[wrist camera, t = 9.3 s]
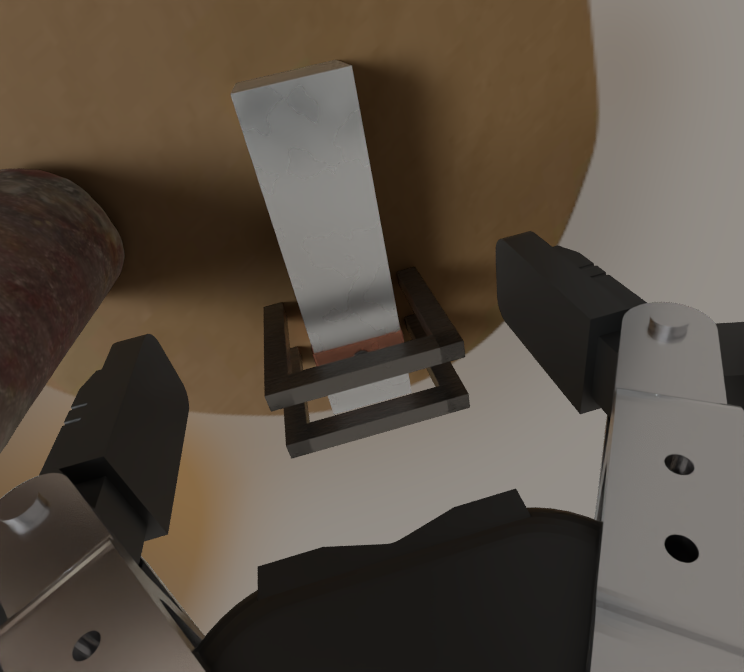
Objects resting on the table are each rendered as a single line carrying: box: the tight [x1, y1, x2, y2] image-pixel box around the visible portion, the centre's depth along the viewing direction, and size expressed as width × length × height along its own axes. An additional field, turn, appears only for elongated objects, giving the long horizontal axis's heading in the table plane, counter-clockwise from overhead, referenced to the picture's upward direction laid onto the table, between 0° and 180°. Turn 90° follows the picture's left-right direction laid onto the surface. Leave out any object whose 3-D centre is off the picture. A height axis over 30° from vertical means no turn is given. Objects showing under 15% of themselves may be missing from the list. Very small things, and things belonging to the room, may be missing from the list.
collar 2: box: [284, 315, 470, 458], centre depth 28 cm, size 1×10×9 cm, turn 101°
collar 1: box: [264, 267, 465, 411], centre depth 26 cm, size 1×10×9 cm, turn 101°
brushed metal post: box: [231, 60, 411, 414], centre depth 26 cm, size 18×5×5 cm, turn 11°
